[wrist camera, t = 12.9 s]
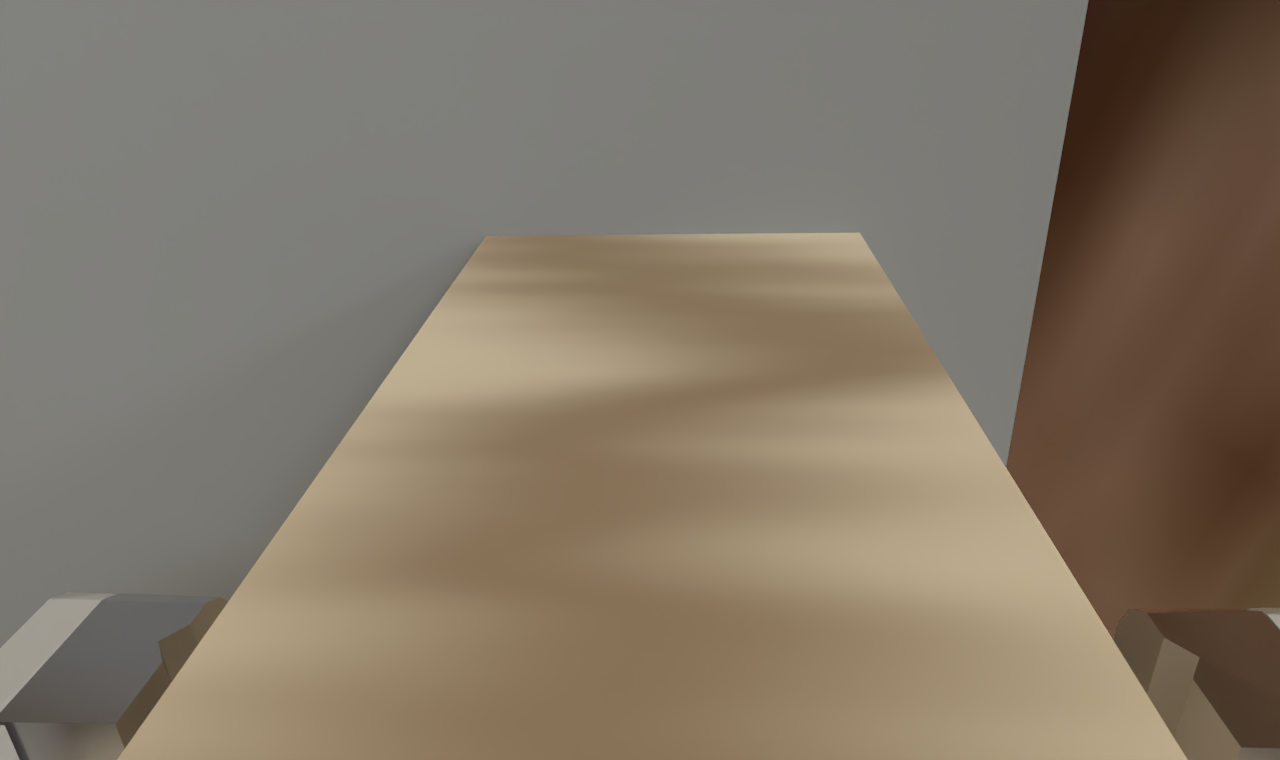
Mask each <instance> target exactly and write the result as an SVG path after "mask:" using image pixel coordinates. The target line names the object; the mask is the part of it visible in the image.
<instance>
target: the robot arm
mask: <svg viewBox="0 0 1280 760" xmlns="http://www.w3.org/2000/svg"><path fill="white" fill-rule="evenodd" d="M227 603H228V601H227V600H225V599H223V598H221V597H212V596H184V595H157V594H129V593H118V594H107V593H74V592H68V593H65V594H62V595H59V596H56V597H53V598H51V599H49V600H48V601H47V602H46V603H45V604H44V605H43V606H42V607H41V608H40V609H39V610H38V611H37V612H36V613H35V614H34V615H33V616H32V617H31V618H30V619H29V620H28V621H27V622H26V623H25V624H24V625H23V626H22V627H21V628H20V629H19V630H18V631H17V632H16V633H15V634H14V635H13V636H12V637H11V638H10V639H9V640H8V641H7V642H6V643H5V644H4V645H3V646H2V647H1V648H0V760H117V759H118V758H119V756H120V755H121V753H122V752H123V751H124V749H125V748H126V746H127V745H128V743H129V742H130V741H131V739H132V738H133V736H134V735H135V734H136V732H137V731H138V729H139V728H140V726H141V725H142V724H143V722H144V721H145V719H146V718H147V716H148V715H149V714H150V712H151V711H152V709H153V708H154V707H155V705H156V704H157V702H158V701H159V699H160V698H161V697H162V695H163V694H164V692H165V691H166V690H167V688H168V687H169V685H170V684H171V682H172V681H173V680H174V678H175V677H176V675H177V674H178V672H179V671H180V670H181V668H182V667H183V665H184V664H185V663H186V661H187V660H188V658H189V657H190V655H191V654H192V653H193V651H194V650H195V648H196V647H197V645H198V644H199V643H200V641H201V640H202V638H203V637H204V636H205V634H206V633H207V631H208V630H209V628H210V627H211V626H212V624H213V623H214V621H215V620H216V619H217V617H218V616H219V614H220V613H221V611H222V610H223V609H224V607H225V606H226V604H227ZM1114 642H1115V644H1116V645H1117V647H1118V649H1119V650H1120V652H1121V654H1122V655H1123V657H1124V658H1125V660H1126V662H1127V663H1128V665H1129V666H1130V668H1131V670H1132V671H1133V673H1134V674H1135V676H1136V678H1137V679H1138V681H1139V682H1140V684H1141V686H1142V687H1143V689H1144V691H1145V692H1146V694H1147V695H1148V697H1149V699H1150V700H1151V702H1152V703H1153V705H1154V707H1155V708H1156V710H1157V711H1158V713H1159V715H1160V716H1161V718H1162V719H1163V721H1164V723H1165V724H1166V726H1167V728H1168V729H1169V731H1170V732H1171V734H1172V736H1173V737H1174V739H1175V740H1176V742H1177V744H1178V745H1179V747H1180V748H1181V750H1182V752H1183V753H1184V755H1185V756H1186V758H1187V760H1280V608H1249V609H1247V610H1235V609H1129V610H1128V611H1127V612H1126V614H1125V615H1124V616H1123V618H1122V619H1121V620H1120V621H1119V624H1118V628H1117V632H1116V635H1115V639H1114Z"/></svg>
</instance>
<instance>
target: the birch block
mask: <svg viewBox="0 0 1280 760" xmlns="http://www.w3.org/2000/svg"><path fill="white" fill-rule="evenodd" d="M117 760H1187V758H1186V756H1185V755H1184V753H1183V752H1182V750H1181V748H1180V747H1179V745H1178V744H1177V742H1176V740H1175V739H1174V737H1173V736H1172V734H1171V732H1170V731H1169V729H1168V728H1167V726H1166V724H1165V723H1164V721H1163V719H1162V718H1161V716H1160V715H1159V713H1158V711H1157V710H1156V708H1155V707H1154V705H1153V703H1152V702H1151V700H1150V699H1149V697H1148V695H1147V694H1146V692H1145V691H1144V689H1143V687H1142V686H1141V684H1140V682H1139V681H1138V679H1137V678H1136V676H1135V674H1134V673H1133V671H1132V670H1131V668H1130V666H1129V665H1128V663H1127V662H1126V660H1125V658H1124V657H1123V655H1122V654H1121V652H1120V650H1119V649H1118V647H1117V645H1116V644H1115V642H1114V641H1113V639H1112V637H1111V636H1110V634H1109V633H1108V631H1107V629H1106V628H1105V626H1104V625H1103V623H1102V621H1101V620H1100V618H1099V617H1098V615H1097V613H1096V612H1095V610H1094V609H1093V607H1092V605H1091V604H1090V602H1089V600H1088V599H1087V597H1086V596H1085V594H1084V592H1083V591H1082V589H1081V588H1080V586H1079V584H1078V583H1077V581H1076V580H1075V578H1074V576H1073V575H1072V573H1071V572H1070V570H1069V568H1068V567H1067V565H1066V563H1065V562H1064V560H1063V559H1062V557H1061V555H1060V554H1059V552H1058V551H1057V549H1056V547H1055V546H1054V544H1053V543H1052V541H1051V539H1050V538H1049V536H1048V535H1047V533H1046V531H1045V530H1044V528H1043V526H1042V525H1041V523H1040V522H1039V520H1038V518H1037V517H1036V515H1035V514H1034V512H1033V510H1032V509H1031V507H1030V506H1029V504H1028V502H1027V501H1026V499H1025V498H1024V496H1023V494H1022V493H1021V491H1020V489H1019V488H1018V486H1017V485H1016V483H1015V481H1014V480H1013V478H1012V477H1011V475H1010V473H1009V472H1008V470H1007V469H1006V467H1005V465H1004V464H1003V462H1002V461H1001V459H1000V457H999V456H998V454H997V453H996V451H995V449H994V448H993V446H992V444H991V443H990V441H989V440H988V438H987V436H986V435H985V433H984V432H983V430H982V428H981V427H980V425H979V424H978V422H977V420H976V419H975V417H974V416H973V414H972V412H971V411H970V409H969V407H968V406H967V404H966V403H965V401H964V399H963V398H962V396H961V395H960V393H959V391H958V390H957V388H956V387H955V385H954V383H953V382H952V380H951V379H950V377H949V375H948V374H947V372H946V370H945V369H944V367H943V366H942V364H941V362H940V361H939V359H938V358H937V356H936V354H935V353H934V351H933V350H932V348H931V346H930V345H929V343H928V342H927V340H926V338H925V337H924V335H923V333H922V332H921V330H920V329H919V327H918V325H917V324H916V322H915V321H914V319H913V317H912V316H911V314H910V313H909V311H908V309H907V308H906V306H905V305H904V303H903V301H902V300H901V298H900V297H899V295H898V293H897V292H896V290H895V288H894V287H893V285H892V284H891V282H890V280H889V279H888V277H887V276H886V274H885V272H884V271H883V269H882V268H881V266H880V264H879V263H878V261H877V260H876V258H875V256H874V255H873V253H872V251H871V250H870V248H869V247H868V245H867V243H866V242H865V240H864V239H863V237H862V235H861V234H860V233H760V234H648V235H537V236H486V237H485V238H484V239H483V241H482V242H481V244H480V245H479V246H478V248H477V249H476V251H475V252H474V254H473V255H472V256H471V258H470V259H469V261H468V262H467V264H466V265H465V266H464V268H463V269H462V271H461V272H460V273H459V275H458V276H457V278H456V279H455V281H454V282H453V283H452V285H451V286H450V288H449V289H448V291H447V292H446V293H445V295H444V296H443V298H442V299H441V300H440V302H439V303H438V305H437V306H436V308H435V309H434V310H433V312H432V313H431V315H430V316H429V317H428V319H427V320H426V322H425V323H424V325H423V326H422V327H421V329H420V330H419V332H418V333H417V335H416V336H415V337H414V339H413V340H412V342H411V343H410V344H409V346H408V347H407V349H406V350H405V352H404V353H403V354H402V356H401V357H400V359H399V360H398V362H397V363H396V364H395V366H394V367H393V369H392V370H391V371H390V373H389V374H388V376H387V377H386V379H385V380H384V381H383V383H382V384H381V386H380V387H379V388H378V390H377V391H376V393H375V394H374V396H373V397H372V398H371V400H370V401H369V403H368V404H367V406H366V407H365V408H364V410H363V411H362V413H361V414H360V415H359V417H358V418H357V420H356V421H355V423H354V424H353V425H352V427H351V428H350V430H349V431H348V433H347V434H346V435H345V437H344V438H343V440H342V441H341V442H340V444H339V445H338V447H337V448H336V450H335V451H334V452H333V454H332V455H331V457H330V458H329V459H328V461H327V462H326V464H325V465H324V467H323V468H322V469H321V471H320V472H319V474H318V475H317V477H316V478H315V479H314V481H313V482H312V484H311V485H310V486H309V488H308V489H307V491H306V492H305V494H304V495H303V496H302V498H301V499H300V501H299V502H298V503H297V505H296V506H295V508H294V509H293V511H292V512H291V513H290V515H289V516H288V518H287V519H286V521H285V522H284V523H283V525H282V526H281V528H280V529H279V530H278V532H277V533H276V535H275V536H274V538H273V539H272V540H271V542H270V543H269V545H268V546H267V548H266V549H265V550H264V552H263V553H262V555H261V556H260V557H259V559H258V560H257V562H256V563H255V565H254V566H253V567H252V569H251V570H250V572H249V573H248V574H247V576H246V577H245V579H244V580H243V582H242V583H241V584H240V586H239V587H238V589H237V590H236V592H235V593H234V594H233V596H232V597H231V599H230V600H229V601H228V603H227V604H226V606H225V607H224V609H223V610H222V611H221V613H220V614H219V616H218V617H217V619H216V620H215V621H214V623H213V624H212V626H211V627H210V628H209V630H208V631H207V633H206V634H205V636H204V637H203V638H202V640H201V641H200V643H199V644H198V645H197V647H196V648H195V650H194V651H193V653H192V654H191V655H190V657H189V658H188V660H187V661H186V663H185V664H184V665H183V667H182V668H181V670H180V671H179V672H178V674H177V675H176V677H175V678H174V680H173V681H172V682H171V684H170V685H169V687H168V688H167V690H166V691H165V692H164V694H163V695H162V697H161V698H160V699H159V701H158V702H157V704H156V705H155V707H154V708H153V709H152V711H151V712H150V714H149V715H148V716H147V718H146V719H145V721H144V722H143V724H142V725H141V726H140V728H139V729H138V731H137V732H136V734H135V735H134V736H133V738H132V739H131V741H130V742H129V743H128V745H127V746H126V748H125V749H124V751H123V752H122V753H121V755H120V756H119V758H118V759H117Z"/></svg>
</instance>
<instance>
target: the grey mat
mask: <svg viewBox="0 0 1280 760" xmlns="http://www.w3.org/2000/svg"><path fill="white" fill-rule="evenodd" d="M1087 6H1088V0H0V648H1V647H2V646H3V645H4V644H5V643H6V642H7V641H8V640H9V639H10V638H11V637H12V636H13V635H14V634H15V633H16V632H17V631H18V630H19V629H20V628H21V627H22V626H23V625H24V624H25V623H26V622H27V621H28V620H29V619H30V618H31V617H32V616H33V615H34V614H35V613H36V612H37V611H38V610H39V609H40V608H41V607H42V606H43V605H44V604H45V603H46V602H47V601H48V600H49V599H51V598H53V597H56V596H59V595H62V594H65V593H68V592H74V593H107V594H118V593H129V594H157V595H184V596H212V597H221V598H223V599H225V600H227V601H229V600H230V599H231V597H232V596H233V594H234V593H235V592H236V590H237V589H238V587H239V586H240V584H241V583H242V582H243V580H244V579H245V577H246V576H247V574H248V573H249V572H250V570H251V569H252V567H253V566H254V565H255V563H256V562H257V560H258V559H259V557H260V556H261V555H262V553H263V552H264V550H265V549H266V548H267V546H268V545H269V543H270V542H271V540H272V539H273V538H274V536H275V535H276V533H277V532H278V530H279V529H280V528H281V526H282V525H283V523H284V522H285V521H286V519H287V518H288V516H289V515H290V513H291V512H292V511H293V509H294V508H295V506H296V505H297V503H298V502H299V501H300V499H301V498H302V496H303V495H304V494H305V492H306V491H307V489H308V488H309V486H310V485H311V484H312V482H313V481H314V479H315V478H316V477H317V475H318V474H319V472H320V471H321V469H322V468H323V467H324V465H325V464H326V462H327V461H328V459H329V458H330V457H331V455H332V454H333V452H334V451H335V450H336V448H337V447H338V445H339V444H340V442H341V441H342V440H343V438H344V437H345V435H346V434H347V433H348V431H349V430H350V428H351V427H352V425H353V424H354V423H355V421H356V420H357V418H358V417H359V415H360V414H361V413H362V411H363V410H364V408H365V407H366V406H367V404H368V403H369V401H370V400H371V398H372V397H373V396H374V394H375V393H376V391H377V390H378V388H379V387H380V386H381V384H382V383H383V381H384V380H385V379H386V377H387V376H388V374H389V373H390V371H391V370H392V369H393V367H394V366H395V364H396V363H397V362H398V360H399V359H400V357H401V356H402V354H403V353H404V352H405V350H406V349H407V347H408V346H409V344H410V343H411V342H412V340H413V339H414V337H415V336H416V335H417V333H418V332H419V330H420V329H421V327H422V326H423V325H424V323H425V322H426V320H427V319H428V317H429V316H430V315H431V313H432V312H433V310H434V309H435V308H436V306H437V305H438V303H439V302H440V300H441V299H442V298H443V296H444V295H445V293H446V292H447V291H448V289H449V288H450V286H451V285H452V283H453V282H454V281H455V279H456V278H457V276H458V275H459V273H460V272H461V271H462V269H463V268H464V266H465V265H466V264H467V262H468V261H469V259H470V258H471V256H472V255H473V254H474V252H475V251H476V249H477V248H478V246H479V245H480V244H481V242H482V241H483V239H484V238H485V237H486V236H537V235H648V234H760V233H860V234H861V235H862V237H863V239H864V240H865V242H866V243H867V245H868V247H869V248H870V250H871V251H872V253H873V255H874V256H875V258H876V260H877V261H878V263H879V264H880V266H881V268H882V269H883V271H884V272H885V274H886V276H887V277H888V279H889V280H890V282H891V284H892V285H893V287H894V288H895V290H896V292H897V293H898V295H899V297H900V298H901V300H902V301H903V303H904V305H905V306H906V308H907V309H908V311H909V313H910V314H911V316H912V317H913V319H914V321H915V322H916V324H917V325H918V327H919V329H920V330H921V332H922V333H923V335H924V337H925V338H926V340H927V342H928V343H929V345H930V346H931V348H932V350H933V351H934V353H935V354H936V356H937V358H938V359H939V361H940V362H941V364H942V366H943V367H944V369H945V370H946V372H947V374H948V375H949V377H950V379H951V380H952V382H953V383H954V385H955V387H956V388H957V390H958V391H959V393H960V395H961V396H962V398H963V399H964V401H965V403H966V404H967V406H968V407H969V409H970V411H971V412H972V414H973V416H974V417H975V419H976V420H977V422H978V424H979V425H980V427H981V428H982V430H983V432H984V433H985V435H986V436H987V438H988V440H989V441H990V443H991V444H992V446H993V448H994V449H995V451H996V453H997V454H998V456H999V457H1000V459H1001V461H1002V462H1003V464H1004V465H1005V467H1006V465H1007V459H1008V454H1009V448H1010V442H1011V437H1012V431H1013V425H1014V420H1015V414H1016V408H1017V403H1018V397H1019V391H1020V386H1021V380H1022V374H1023V369H1024V363H1025V357H1026V352H1027V346H1028V340H1029V335H1030V329H1031V323H1032V318H1033V312H1034V306H1035V301H1036V295H1037V289H1038V284H1039V278H1040V272H1041V267H1042V261H1043V255H1044V250H1045V244H1046V238H1047V233H1048V227H1049V221H1050V216H1051V210H1052V204H1053V199H1054V193H1055V187H1056V182H1057V176H1058V170H1059V165H1060V159H1061V153H1062V148H1063V142H1064V136H1065V131H1066V125H1067V119H1068V114H1069V108H1070V102H1071V97H1072V91H1073V85H1074V80H1075V74H1076V68H1077V63H1078V57H1079V51H1080V46H1081V40H1082V34H1083V29H1084V23H1085V17H1086V12H1087Z"/></svg>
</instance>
